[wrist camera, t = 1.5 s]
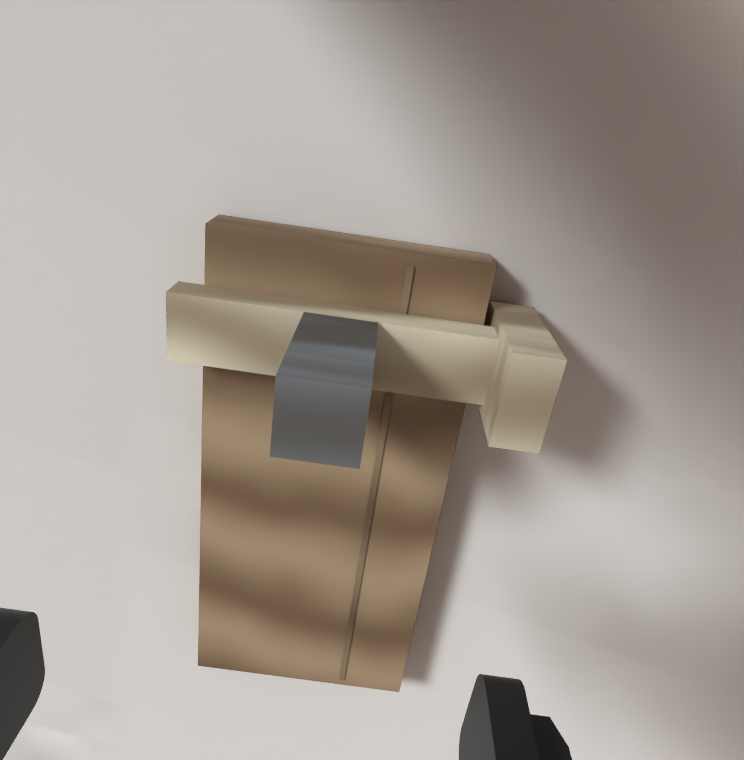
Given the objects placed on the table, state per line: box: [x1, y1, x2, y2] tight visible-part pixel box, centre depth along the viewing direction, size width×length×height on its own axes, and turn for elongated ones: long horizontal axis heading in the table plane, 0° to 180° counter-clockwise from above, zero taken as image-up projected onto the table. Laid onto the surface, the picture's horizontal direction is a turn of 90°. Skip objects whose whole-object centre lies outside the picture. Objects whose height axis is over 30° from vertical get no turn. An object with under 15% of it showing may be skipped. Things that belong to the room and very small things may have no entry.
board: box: [198, 215, 497, 692], centre depth 31 cm, size 26×12×2 cm, turn 172°
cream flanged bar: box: [166, 281, 567, 469], centre depth 24 cm, size 4×15×10 cm, turn 82°
